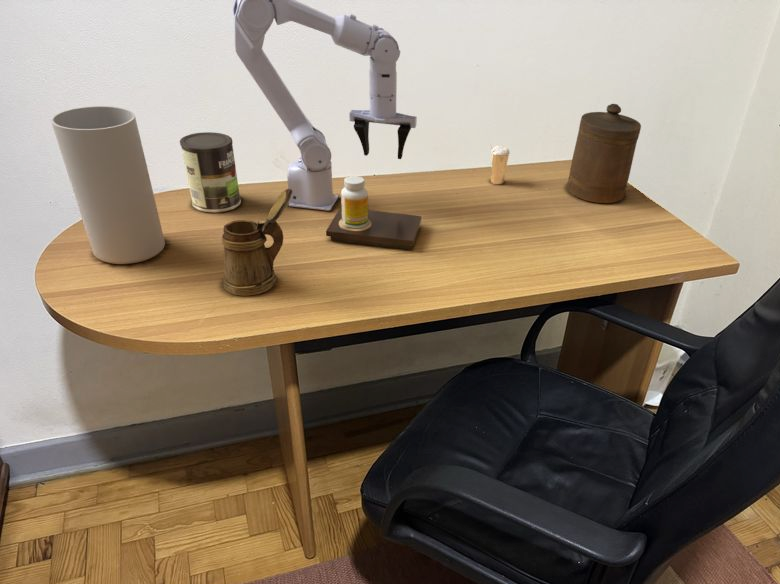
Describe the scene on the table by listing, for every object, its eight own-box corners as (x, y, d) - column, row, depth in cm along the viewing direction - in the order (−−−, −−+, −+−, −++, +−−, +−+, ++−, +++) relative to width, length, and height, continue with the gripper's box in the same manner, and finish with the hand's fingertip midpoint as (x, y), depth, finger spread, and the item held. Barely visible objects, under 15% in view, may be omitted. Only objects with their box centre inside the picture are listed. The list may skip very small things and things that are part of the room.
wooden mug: (301, 293, 113) (292, 200, 102) (222, 297, 110) (204, 201, 99) (300, 268, 120) (292, 178, 109) (225, 271, 116) (209, 179, 106)
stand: (326, 241, 129) (325, 230, 127) (341, 217, 138) (340, 205, 137) (412, 251, 128) (413, 240, 127) (421, 226, 138) (421, 215, 136)
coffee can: (249, 197, 143) (240, 135, 134) (228, 215, 134) (217, 151, 126) (206, 190, 143) (195, 129, 135) (183, 209, 135) (169, 144, 127)
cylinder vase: (85, 244, 120) (42, 111, 105) (152, 229, 127) (121, 102, 112) (105, 272, 113) (62, 134, 98) (175, 254, 120) (145, 123, 105)
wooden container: (633, 193, 163) (656, 106, 150) (606, 209, 154) (627, 118, 140) (585, 176, 170) (602, 92, 157) (555, 190, 160) (571, 102, 147)
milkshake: (482, 179, 162) (486, 141, 156) (500, 177, 164) (505, 140, 158) (490, 186, 159) (494, 147, 153) (508, 184, 161) (513, 146, 155)
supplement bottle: (337, 221, 131) (335, 177, 125) (359, 215, 134) (358, 172, 128) (350, 231, 128) (349, 186, 122) (373, 225, 131) (372, 181, 125)
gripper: (344, 95, 130) (347, 158, 139) (413, 102, 130) (412, 165, 138) (352, 86, 136) (354, 147, 144) (418, 93, 136) (417, 154, 144)
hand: (383, 155), depth 142 cm, fingers open, 7 cm apart
